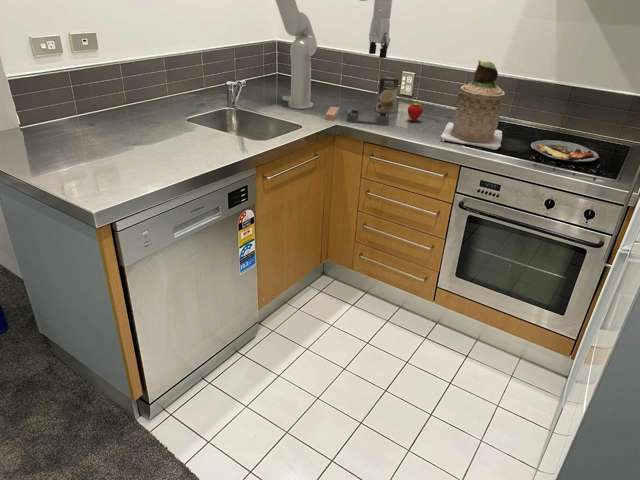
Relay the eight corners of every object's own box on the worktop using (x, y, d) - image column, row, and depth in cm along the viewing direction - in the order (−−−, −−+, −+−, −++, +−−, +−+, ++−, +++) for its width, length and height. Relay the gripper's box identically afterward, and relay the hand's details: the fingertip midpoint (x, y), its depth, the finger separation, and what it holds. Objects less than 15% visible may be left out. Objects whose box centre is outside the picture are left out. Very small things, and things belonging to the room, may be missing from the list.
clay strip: (325, 120, 224) (325, 114, 222) (330, 112, 236) (330, 106, 234) (334, 121, 223) (334, 115, 222) (338, 113, 235) (338, 107, 234)
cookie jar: (500, 151, 197) (519, 69, 180) (438, 142, 203) (452, 61, 187) (502, 134, 217) (520, 58, 201) (446, 126, 224) (459, 52, 207)
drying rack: (346, 121, 222) (346, 114, 220) (348, 115, 231) (349, 108, 229) (387, 125, 220) (388, 118, 218) (388, 119, 228) (389, 112, 227)
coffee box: (376, 111, 239) (379, 78, 231) (376, 108, 245) (379, 75, 236) (394, 113, 238) (398, 79, 230) (394, 109, 244) (398, 76, 236)
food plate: (610, 163, 189) (613, 154, 187) (560, 168, 183) (563, 159, 181) (565, 143, 210) (567, 135, 208) (519, 147, 204) (521, 139, 202)
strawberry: (403, 119, 229) (406, 98, 224) (417, 118, 231) (420, 97, 226) (409, 123, 224) (412, 101, 219) (423, 122, 227) (427, 100, 222)
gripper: (365, 12, 217) (361, 52, 226) (384, 17, 204) (379, 59, 213) (379, 12, 220) (375, 52, 229) (399, 17, 207) (394, 59, 215)
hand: (377, 55), depth 221 cm, fingers open, 9 cm apart
